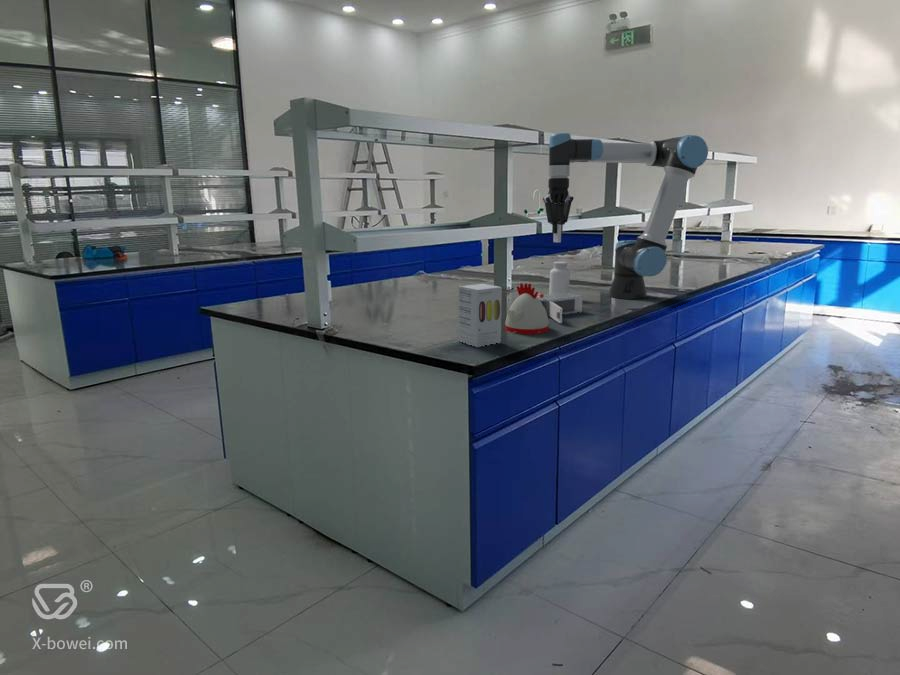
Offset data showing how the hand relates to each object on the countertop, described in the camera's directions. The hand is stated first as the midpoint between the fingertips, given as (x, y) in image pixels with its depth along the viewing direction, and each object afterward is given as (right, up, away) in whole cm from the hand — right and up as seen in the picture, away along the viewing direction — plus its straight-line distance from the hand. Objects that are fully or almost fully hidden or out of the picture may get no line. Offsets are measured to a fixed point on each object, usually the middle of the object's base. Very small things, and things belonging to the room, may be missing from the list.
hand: (557, 242), depth 228 cm
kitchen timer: (-16, -34, -33) cm, 50 cm away
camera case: (-3, -27, -8) cm, 28 cm away
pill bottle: (+4, -20, +19) cm, 28 cm away
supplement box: (-32, -38, -49) cm, 69 cm away
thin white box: (-4, -30, -21) cm, 37 cm away
